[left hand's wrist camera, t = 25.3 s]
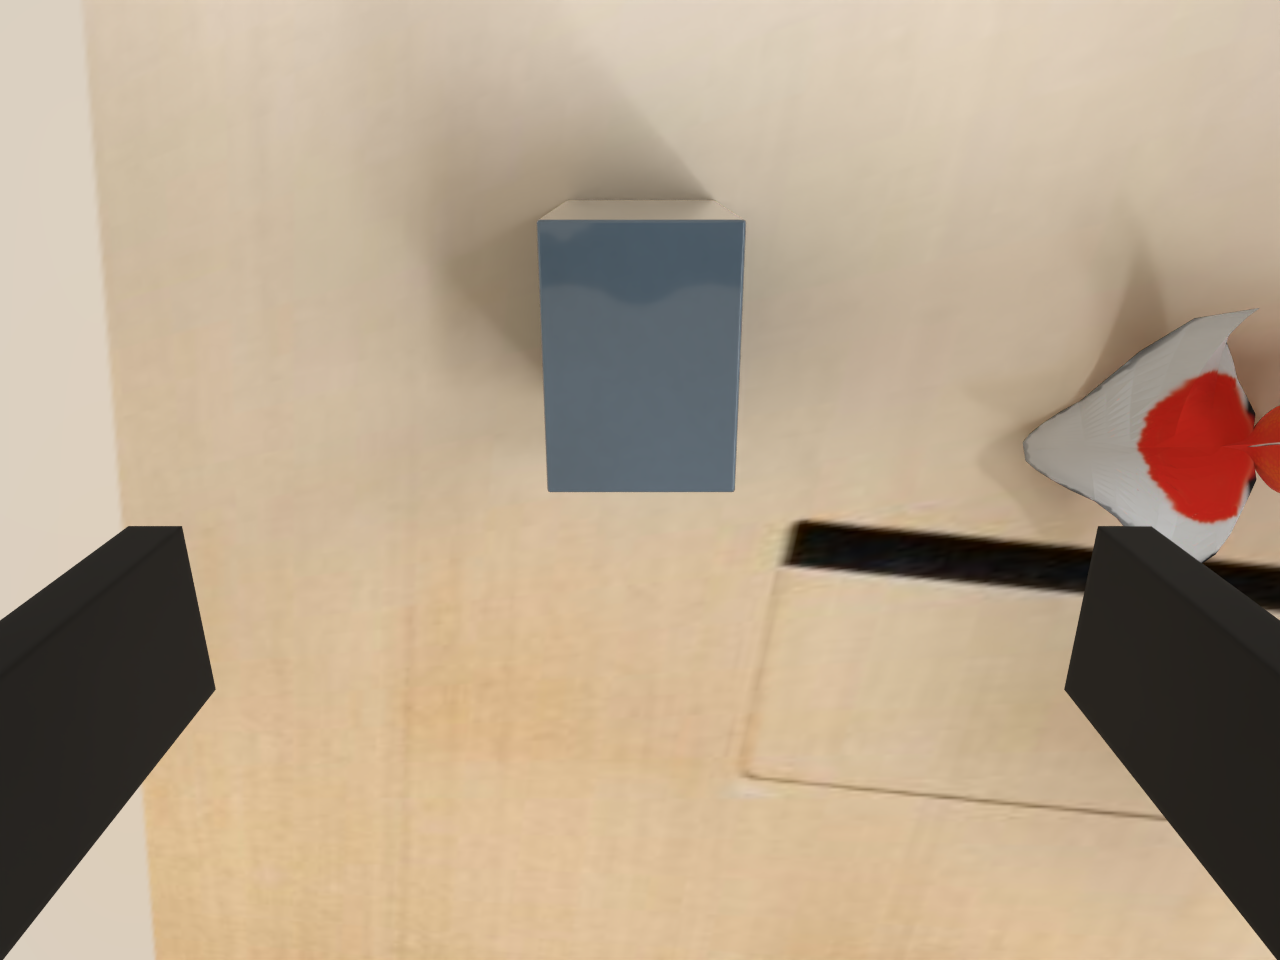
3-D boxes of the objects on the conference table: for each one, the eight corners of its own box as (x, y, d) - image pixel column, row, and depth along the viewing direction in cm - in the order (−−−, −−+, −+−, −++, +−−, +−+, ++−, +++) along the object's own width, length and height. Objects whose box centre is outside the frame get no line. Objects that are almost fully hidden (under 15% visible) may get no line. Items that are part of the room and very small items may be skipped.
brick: (566, 199, 36) (536, 219, 26) (715, 199, 36) (746, 219, 26) (571, 401, 39) (547, 493, 29) (709, 401, 39) (735, 492, 29)
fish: (1351, 639, 38) (1483, 664, 29) (990, 526, 44) (1002, 517, 34) (1432, 409, 38) (1592, 359, 29) (1058, 323, 43) (1090, 258, 34)
